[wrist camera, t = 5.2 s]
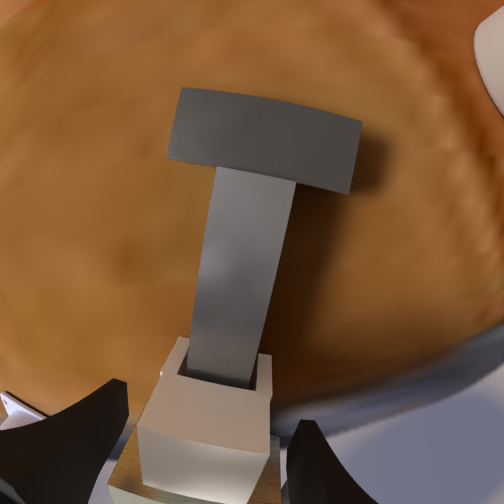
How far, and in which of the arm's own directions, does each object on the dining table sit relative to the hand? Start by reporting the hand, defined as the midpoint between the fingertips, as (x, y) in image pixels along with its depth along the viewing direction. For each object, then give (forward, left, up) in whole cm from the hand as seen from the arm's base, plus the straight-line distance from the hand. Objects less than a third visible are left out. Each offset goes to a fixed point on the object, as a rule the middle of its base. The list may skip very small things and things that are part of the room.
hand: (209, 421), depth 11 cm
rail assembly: (+3, 0, -3) cm, 4 cm away
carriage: (0, 0, -3) cm, 3 cm away
